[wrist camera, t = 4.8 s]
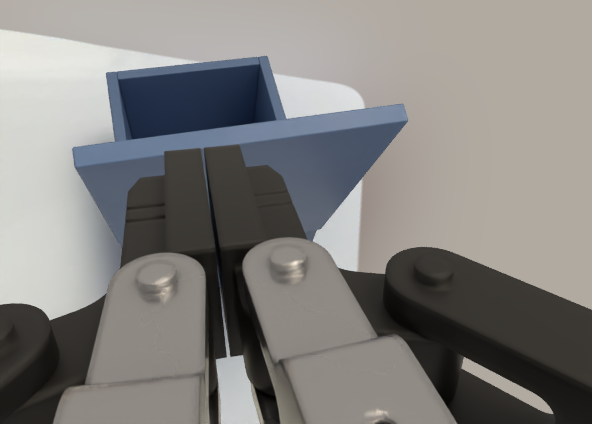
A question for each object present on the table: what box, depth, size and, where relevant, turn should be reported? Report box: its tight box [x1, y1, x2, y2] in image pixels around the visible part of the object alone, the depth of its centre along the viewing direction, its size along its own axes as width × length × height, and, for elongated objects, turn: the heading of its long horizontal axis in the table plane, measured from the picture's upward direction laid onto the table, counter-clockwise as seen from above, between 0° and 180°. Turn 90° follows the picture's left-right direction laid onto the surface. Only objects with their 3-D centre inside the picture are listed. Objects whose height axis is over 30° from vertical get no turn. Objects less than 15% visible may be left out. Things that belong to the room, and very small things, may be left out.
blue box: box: [106, 56, 317, 288], centre depth 43 cm, size 16×13×9 cm
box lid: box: [72, 104, 408, 247], centre depth 28 cm, size 16×13×1 cm
